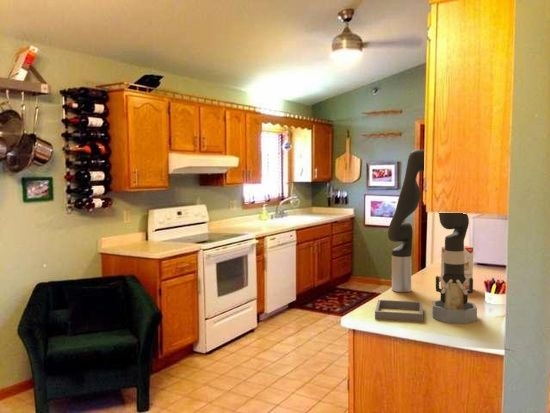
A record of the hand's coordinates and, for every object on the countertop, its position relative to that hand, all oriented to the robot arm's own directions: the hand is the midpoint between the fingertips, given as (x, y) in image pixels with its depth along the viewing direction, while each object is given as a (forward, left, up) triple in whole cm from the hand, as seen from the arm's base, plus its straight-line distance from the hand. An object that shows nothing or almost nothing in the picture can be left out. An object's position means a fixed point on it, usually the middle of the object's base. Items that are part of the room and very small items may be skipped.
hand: (453, 302), depth 187 cm
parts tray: (0, -21, -6) cm, 22 cm away
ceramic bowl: (0, 0, -6) cm, 6 cm away
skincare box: (0, 0, -4) cm, 4 cm away
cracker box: (-48, +5, -6) cm, 49 cm away
